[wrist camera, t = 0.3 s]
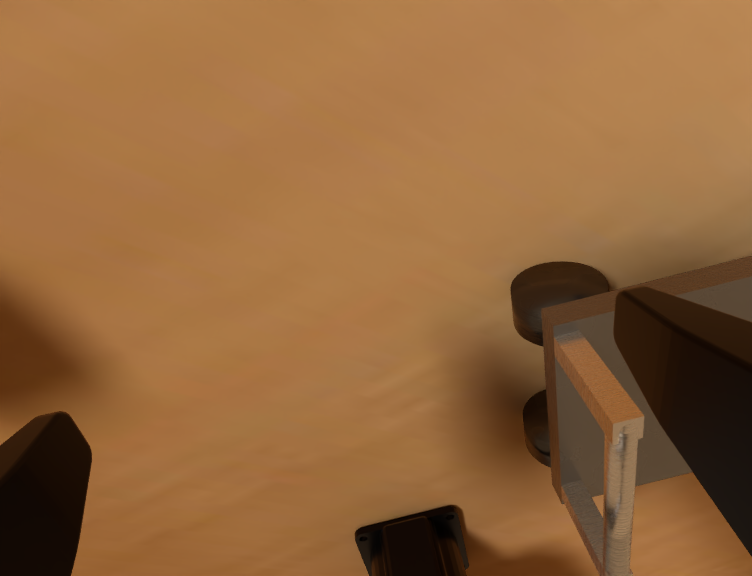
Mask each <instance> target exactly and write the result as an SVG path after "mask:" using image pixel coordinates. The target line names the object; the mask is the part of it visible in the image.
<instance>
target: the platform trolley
mask: <svg viewBox="0 0 752 576" xmlns="http://www.w3.org/2000/svg"><path fill="white" fill-rule="evenodd" d="M638 286H647V287H650V288H653V289H656V290H659V291H662V292H665V293H668V294H671V295H674V296H677V297H680V298H683V299H686V300H688V301H691V302H694V303H697V304H700V305H703V306H706V307H709V308H712V309H715V310H718V311H721V312H724V313H727V314H730V315H733V316H736V317H739V318H742V319H745V320H747V321H750V322H752V256H749V257H745V258H741V259H737V260H733V261H729V262H725V263H721V264H717V265H713V266H709V267H705V268H701V269H698V270H694V271H690V272H686V273H682V274H678V275H674V276H670V277H666V278H662V279H658V280H654V281H650V282H646V283H642V284H638V285H634V286H630V287H626V288H622V289H618V290H614V291H610V292H608V283H607V280H606V278H605V277H604V276H603V275H602V274H601V273H600V272H599V271H597V270H596V269H594V268H592V267H589V266H587V265H584V264H580V263H574V262H549V263H543V264H539V265H536V266H533V267H530V268H528V269H526V270H524V271H523V272H521V273H520V274H519V275H517V276H516V277H515V279H514V280H513V282H512V284H511V300H512V311H513V321H514V326H515V329H516V330H517V332H518V333H519V334H520V335H521V336H522V337H523V338H524V339H526V340H528V341H529V342H532V343H534V344H537V345H540V346H544V362H545V378H546V390H543V391H541V392H539V393H537V394H535V395H534V396H532V397H531V398H530V399H529V400H528V402H527V403H526V405H525V407H524V410H523V422H524V433H525V442H526V446H527V448H528V450H529V452H530V453H531V454H532V456H533V457H534V458H535V459H537V460H538V461H539V462H541V463H542V464H544V465H546V466H548V467H551V472H552V485H553V487H554V489H555V491H556V493H557V495H558V497H559V499H560V501H561V503H562V504H565V506H566V508H567V510H568V512H569V514H570V516H571V518H572V520H573V522H574V524H575V526H576V528H577V530H578V532H579V534H580V536H581V538H582V540H583V542H584V544H585V546H586V549H587V551H588V553H589V555H590V557H591V559H592V561H593V563H594V565H595V567H596V569H597V571H598V573H599V575H600V576H633V573H632V571H631V569H630V557H631V541H632V526H633V510H634V494H635V486H639V485H643V484H647V483H651V482H655V481H659V480H663V479H667V478H671V477H675V476H679V475H683V474H687V473H691V472H692V470H691V469H690V467H689V466H688V465H687V463H686V462H685V460H684V459H683V457H682V456H681V455H680V453H679V452H678V450H677V449H676V447H675V446H674V444H673V443H672V442H671V440H670V439H669V437H668V436H667V434H666V433H665V431H664V430H663V428H662V427H661V425H660V424H659V422H658V421H657V419H656V417H655V415H654V414H653V412H652V410H651V408H650V407H649V405H648V403H647V401H646V399H645V397H644V395H643V394H642V392H641V390H640V388H639V386H638V384H637V383H636V381H635V379H634V377H633V375H632V373H631V371H630V370H629V368H628V366H627V364H626V362H625V360H624V359H623V357H622V355H621V353H620V351H619V349H618V347H617V345H616V343H615V340H614V335H613V326H614V312H615V300H616V296H617V293H618V292H620V291H621V290H624V289H628V288H633V287H638ZM602 494H604V509H603V518H602V516H601V514H600V512H599V510H598V508H597V507H596V505H595V503H594V501H593V499H592V498H591V497H594V496H598V495H602Z"/></svg>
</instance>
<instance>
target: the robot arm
mask: <svg viewBox="0 0 752 576" xmlns="http://www.w3.org/2000/svg"><path fill="white" fill-rule="evenodd" d="M613 335H614V340H615V343H616V345H617V347H618V349H619V351H620V353H621V355H622V357H623V359H624V360H625V362H626V364H627V366H628V368H629V370H630V371H631V373H632V375H633V377H634V379H635V381H636V383H637V384H638V386H639V388H640V390H641V392H642V394H643V395H644V397H645V399H646V401H647V403H648V405H649V407H650V408H651V410H652V412H653V414H654V415H655V417H656V419H657V421H658V422H659V424H660V425H661V427H662V428H663V430H664V431H665V433H666V434H667V436H668V437H669V439H670V440H671V442H672V443H673V444H674V446H675V447H676V449H677V450H678V452H679V453H680V455H681V456H682V457H683V459H684V460H685V462H686V463H687V465H688V466H689V467H690V469H691V470H692V472H693V473H694V475H695V476H696V477H697V479H698V480H699V482H700V483H701V485H702V486H703V487H704V489H705V490H706V492H707V493H708V495H709V496H710V497H711V499H712V500H713V502H714V503H715V505H716V506H717V508H718V509H719V510H720V512H721V513H722V515H723V516H724V518H725V519H726V520H727V522H728V523H729V525H730V526H731V528H732V529H733V530H734V532H735V533H736V535H737V536H738V538H739V539H740V540H741V542H742V543H743V545H744V546H745V548H746V549H747V550H748V552H749V553H750V555H751V556H752V322H750V321H747V320H745V319H742V318H739V317H736V316H733V315H730V314H727V313H724V312H721V311H718V310H715V309H712V308H709V307H706V306H703V305H700V304H697V303H694V302H691V301H688V300H686V299H683V298H680V297H677V296H674V295H671V294H668V293H665V292H662V291H659V290H656V289H653V288H650V287H647V286H638V287H633V288H628V289H624V290H621V291H620V292H618V293H617V296H616V300H615V312H614V326H613ZM91 463H92V453H91V448H90V446H89V444H88V442H87V441H86V439H85V438H84V436H83V435H82V433H81V431H80V430H79V428H78V427H77V425H76V424H75V422H74V421H73V419H72V418H71V416H70V415H69V414H67V413H66V412H62V411H59V412H54V413H49V414H45V415H40V416H38V417H35V418H34V419H33V420H31V421H30V422H29V423H28V424H26V425H25V426H24V427H23V428H21V429H20V430H19V431H18V432H16V433H15V434H14V435H13V436H12V437H10V438H9V439H8V440H7V441H5V442H4V443H3V444H2V445H0V576H71V573H72V569H73V566H74V561H75V557H76V553H77V549H78V544H79V538H80V533H81V526H82V520H83V514H84V507H85V501H86V495H87V488H88V482H89V476H90V469H91ZM355 541H356V544H357V546H358V549H359V551H360V554H361V556H362V559H363V561H364V564H365V566H366V569H367V571H368V574H369V576H467V575H466V571H465V570H466V569H467V568H468V567H469V563H468V558H467V554H466V549H465V545H464V540H463V536H462V531H461V526H460V522H459V517H458V513H457V510H456V508H455V507H451V506H450V507H445V508H441V509H437V510H432V511H428V512H424V513H420V514H416V515H412V516H408V517H404V518H400V519H396V520H392V521H388V522H384V523H380V524H376V525H372V526H368V527H364V528H360V529H358V530H357V531H356V532H355Z"/></svg>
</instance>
